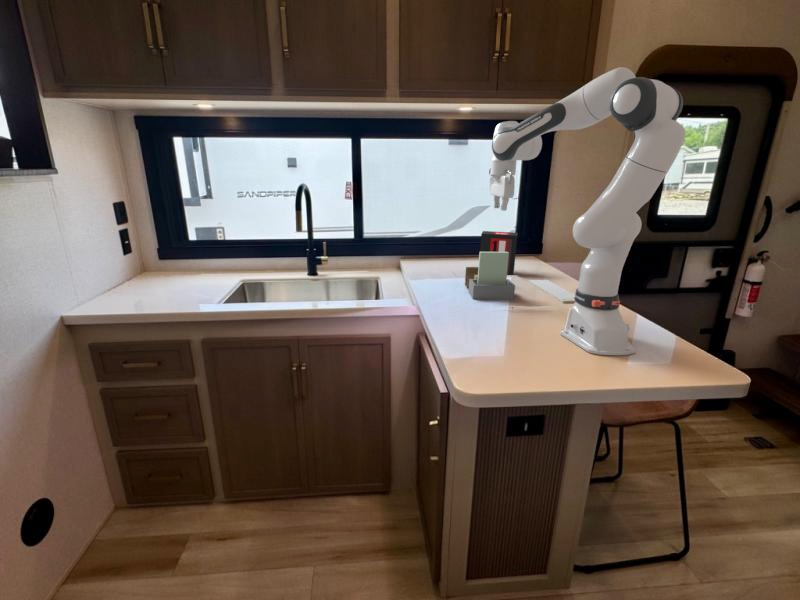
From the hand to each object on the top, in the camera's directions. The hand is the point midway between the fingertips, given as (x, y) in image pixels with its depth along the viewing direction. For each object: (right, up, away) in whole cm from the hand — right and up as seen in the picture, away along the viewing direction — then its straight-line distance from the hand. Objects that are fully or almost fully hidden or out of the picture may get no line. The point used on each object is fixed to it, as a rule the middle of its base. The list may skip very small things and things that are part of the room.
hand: (500, 209), depth 153 cm
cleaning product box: (+11, -21, +51) cm, 56 cm away
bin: (-1, -33, +11) cm, 35 cm away
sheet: (-1, -32, +11) cm, 34 cm away
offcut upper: (-2, -27, +17) cm, 32 cm away
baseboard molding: (+30, -31, +23) cm, 49 cm away
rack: (-1, -30, +21) cm, 37 cm away
